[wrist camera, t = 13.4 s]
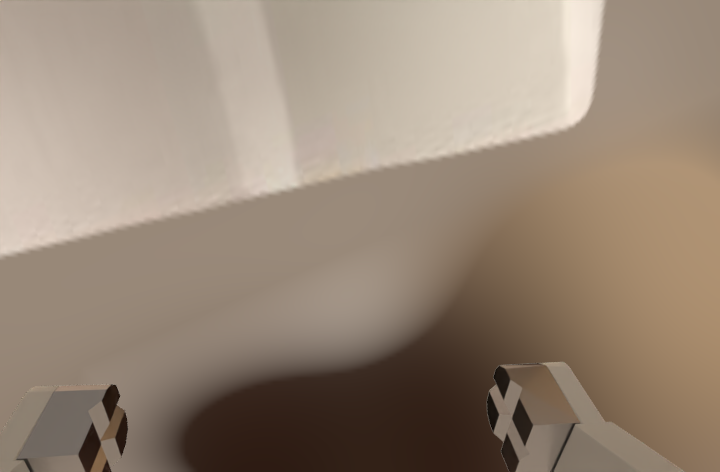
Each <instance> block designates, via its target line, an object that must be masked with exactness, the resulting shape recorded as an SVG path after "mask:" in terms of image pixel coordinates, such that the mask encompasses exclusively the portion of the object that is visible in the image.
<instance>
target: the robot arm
mask: <svg viewBox="0 0 720 472" xmlns="http://www.w3.org/2000/svg"><path fill="white" fill-rule="evenodd" d="M493 378H494V380H495V382H496V384H497V385H495V386H494V387H493V388H492V389H491V390H490V391H489V394H488V398H487V414H488V419H489V423H490V425H491V428H492V431H493V433H494V434H495V435H496V436H497V437H499V438H500V439H501V440H502V441H503V442H504V443H503V446H502V449H501V453H502V456H503V458H504V460H505V463H506V465H507V468H508V470H509V472H685V471H683V470H682V469H680V468H679V467H677V466H676V465H674V464H673V463H671V462H670V461H669V460H667V459H665V458H664V457H663V456H661V455H660V454H658V453H657V452H655V451H654V450H652V449H651V448H649V447H648V446H646V445H645V444H643V443H642V442H640V441H639V440H638V439H636V438H635V437H633V436H632V435H630V434H629V433H627V432H626V431H624V430H623V429H621V428H620V427H618V426H617V425H615V424H614V423H613V422H605V421H604V420H603V418H602V416H601V415H600V413H599V412H598V410H597V409H596V407H595V406H594V404H593V403H592V401H591V400H590V398H589V396H588V395H587V393H586V392H585V390H584V389H583V387H582V386H581V384H580V383H579V381H578V380H577V378H576V377H575V375H574V374H573V372H572V370H571V369H570V367H569V366H568V365H567V364H565V363H564V362H553V363H529V364H512V365H499V366H498V367H497V368H496V370H495V373H494V376H493ZM119 398H120V394H119V391H118V388H117V386H116V385H112V384H109V385H107V384H106V385H62V386H37V387H33V388H31V389H30V390H29V391H28V392H26V394H25V395H24V396H23V398H22V400H21V401H20V403H19V404H18V406H17V408H16V409H15V411H14V412H13V414H12V416H11V417H10V419H9V421H8V422H7V424H6V426H5V427H4V429H3V430H2V432H1V434H0V472H111V469H110V468H111V467H112V466H113V465H114V464H115V463H116V462H117V461H118V460H119V459H121V458H122V454H123V451H124V448H125V445H126V440H127V433H128V424H127V423H128V422H127V416H126V413H125V410H123V409H122V408H120V407H119V406H118V405H117V403H118V401H119Z"/></svg>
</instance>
